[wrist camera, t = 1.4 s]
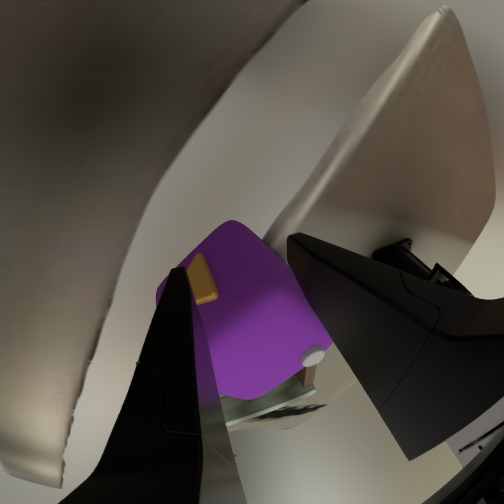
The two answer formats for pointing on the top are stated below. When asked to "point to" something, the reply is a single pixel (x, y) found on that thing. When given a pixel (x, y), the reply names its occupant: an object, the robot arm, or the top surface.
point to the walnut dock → (270, 397)
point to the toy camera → (251, 312)
